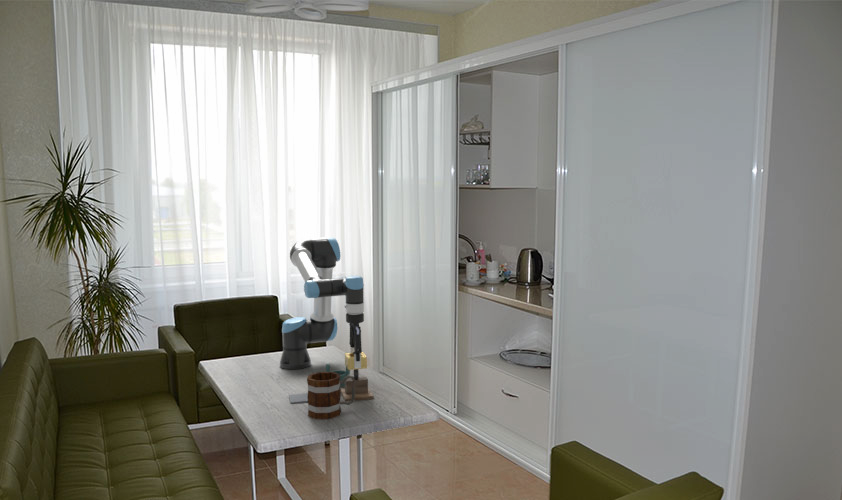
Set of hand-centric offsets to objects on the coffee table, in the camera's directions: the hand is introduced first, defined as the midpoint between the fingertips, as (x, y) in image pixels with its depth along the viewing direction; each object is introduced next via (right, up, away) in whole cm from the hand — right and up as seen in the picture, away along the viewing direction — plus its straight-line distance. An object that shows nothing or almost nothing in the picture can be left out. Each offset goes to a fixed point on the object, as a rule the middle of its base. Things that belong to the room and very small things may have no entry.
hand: (355, 365), depth 281 cm
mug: (-7, -15, -20) cm, 26 cm away
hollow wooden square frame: (0, -1, 0) cm, 1 cm away
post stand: (0, -13, +1) cm, 13 cm away
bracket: (-9, -12, +17) cm, 23 cm away
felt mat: (-22, -14, -3) cm, 26 cm away
